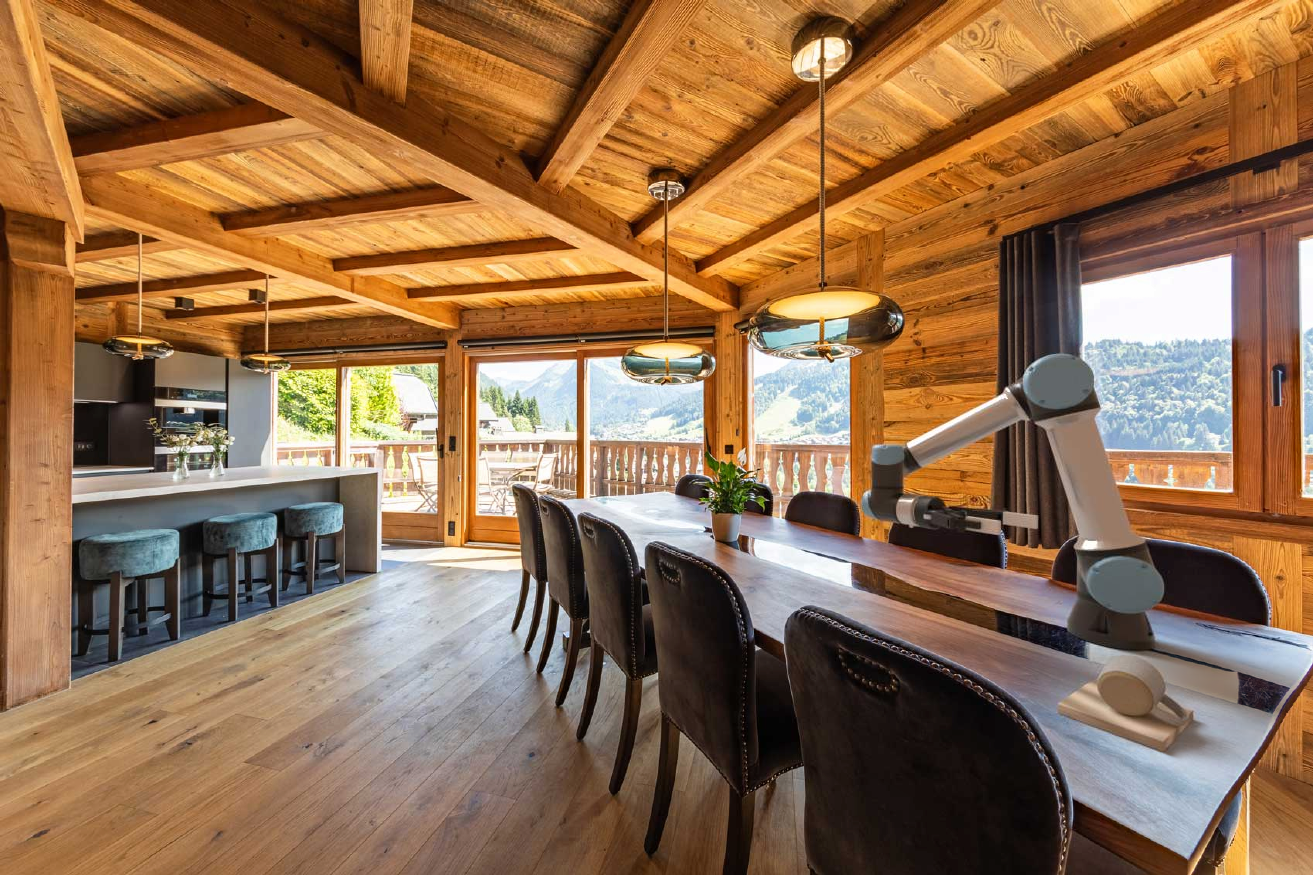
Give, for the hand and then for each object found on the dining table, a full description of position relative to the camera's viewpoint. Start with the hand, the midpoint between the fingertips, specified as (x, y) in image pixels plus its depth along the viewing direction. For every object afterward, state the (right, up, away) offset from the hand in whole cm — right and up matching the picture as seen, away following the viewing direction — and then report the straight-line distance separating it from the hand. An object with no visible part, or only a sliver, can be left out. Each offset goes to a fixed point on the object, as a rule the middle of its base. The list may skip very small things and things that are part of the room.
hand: (1019, 525), depth 107 cm
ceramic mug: (+5, -27, -21) cm, 35 cm away
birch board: (+4, -28, -20) cm, 35 cm away
